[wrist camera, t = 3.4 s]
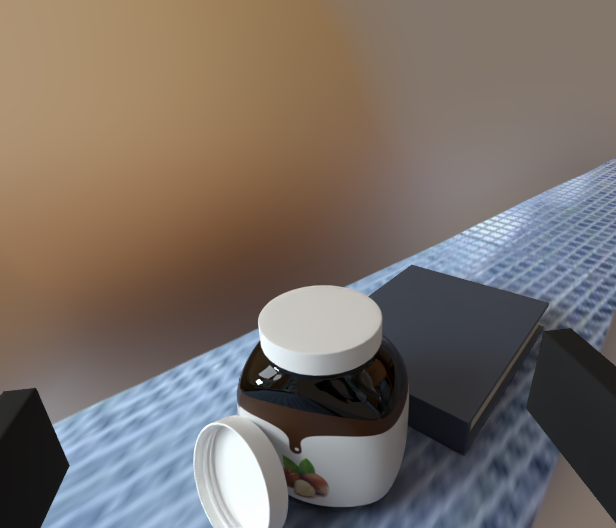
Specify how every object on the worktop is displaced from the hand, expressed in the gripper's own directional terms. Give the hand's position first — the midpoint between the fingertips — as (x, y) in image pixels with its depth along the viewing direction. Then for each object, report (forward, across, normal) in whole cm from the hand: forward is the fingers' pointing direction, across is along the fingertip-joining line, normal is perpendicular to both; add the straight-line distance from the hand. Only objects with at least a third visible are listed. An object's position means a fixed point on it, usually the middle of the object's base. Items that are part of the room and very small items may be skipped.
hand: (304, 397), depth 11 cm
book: (+21, +13, -16) cm, 30 cm away
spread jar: (+10, 0, -16) cm, 19 cm away
